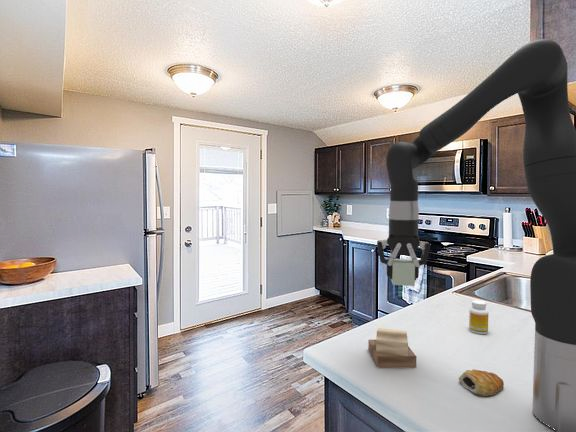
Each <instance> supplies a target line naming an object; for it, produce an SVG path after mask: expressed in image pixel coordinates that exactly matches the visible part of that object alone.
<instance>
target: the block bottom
mask: <svg viewBox="0 0 576 432" xmlns="http://www.w3.org/2000/svg"><path fill="white" fill-rule="evenodd" d="M367 344H368V347H367V348H368V352H369V353H370V356H371V357H373V358H372V359H373V361H374V363H375V365H376V367H377V368H378V369H392V368H393V369H394V368H395V369H397V368H398V369H400V368H401V369H403V368H405V369H406V368H407V369H409V368H412V369H413V368H414V369H415V368H416V369H417V355H416V354H415V353H414V351H413V349H411V348H410V346H409V345H408V356H401V355H393V354H385V353H378V352H376V339H368V343H367Z"/></svg>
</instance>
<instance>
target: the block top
mask: <svg viewBox="0 0 576 432" xmlns="http://www.w3.org/2000/svg"><path fill="white" fill-rule="evenodd" d="M375 335H376V337H375V340H376V352H378V353H385V354H393V355H401V356H408V346H409V340H408V339H409V337H408V331H407V330H402V329H401V330H400V329H393V328H383V327H377V328H376V334H375Z"/></svg>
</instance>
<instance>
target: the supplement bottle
mask: <svg viewBox="0 0 576 432" xmlns="http://www.w3.org/2000/svg"><path fill="white" fill-rule="evenodd" d="M468 313H469V315H468V329H469V331H470V332H471V333H474V334H477V335H486V334H488V333H489V310H488V309H487V302H485V301H484V300H476V299H475V300H472V301H471V306H470V308H469V311H468Z"/></svg>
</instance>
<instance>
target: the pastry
mask: <svg viewBox="0 0 576 432" xmlns="http://www.w3.org/2000/svg"><path fill="white" fill-rule="evenodd" d="M458 381H459V382H460V385H461V386H462V387H463V388H465V389H466V390H469V391H470V392H471V393H473V394H475V395H477V394H478V396H481V397H487V396H490V395H491V396H493V395H495V394H497V393H499V392H501V391H502V390H503V389H504V386H505V383H504V380H503V378H501V377H500V376H498V375H497V374H496V373H494V372H488V371H485V370H479V369H471V370H467V369H466V371H464V372H463V373H462V374H461V375H460V376H459V377H458Z"/></svg>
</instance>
